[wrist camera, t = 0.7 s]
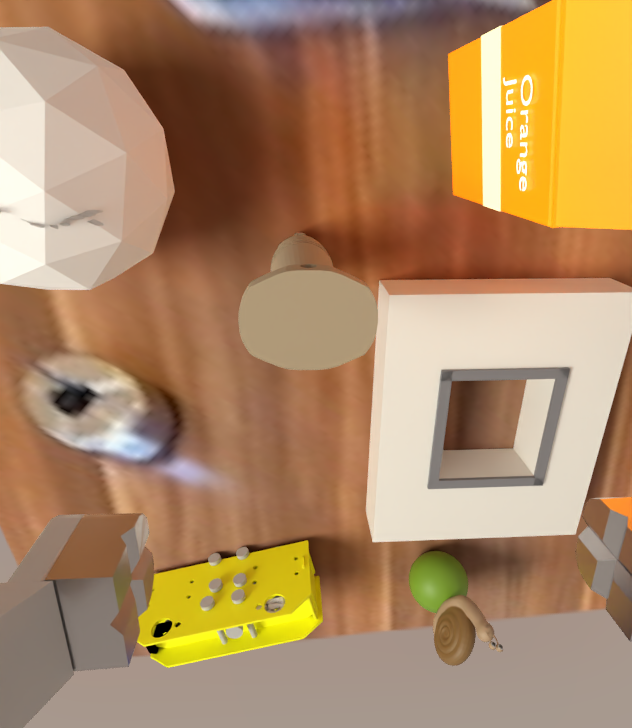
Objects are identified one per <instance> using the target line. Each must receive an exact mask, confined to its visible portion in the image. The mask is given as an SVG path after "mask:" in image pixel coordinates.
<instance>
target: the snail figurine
mask: <svg viewBox="0 0 632 728" xmlns="http://www.w3.org/2000/svg"><path fill="white" fill-rule="evenodd" d="M409 585H410V589H411V592H412V594H413V596H414V598H415V600H416V601H417V602H418V603H419V604H420V605H421V606H422V607H423V608H425V609H426V610H428V611H431V612H433V613H436V615H435V617H434V621H433V633H434V643H435V648H436V651H437V654H438V655H439V657H440V658H441V660H442V661H443V662H445V663H446V664H448V665H452V666H454V665H459V664H461V663H463V662H464V661H465V660H466V659H467V658H468V657H469V656H470V654H471V652H472V649H473V647H474V643H475V635H476V634H475V628H476V632H477V636H478V638H479V639H480V640H481V641H483V642H489V641H490V643H489V648H490V649H492V650H494V649H496V650H497V651H498V652H502V651H503V647H502V645H501V644H498V642H497V645H496V644H495V643H494V642H492V641H491V640H492V639H493V637H494V638H495V639H496V637H495V636H494V630H493V628H492V626H491V625H490V624H489V623H488V622H487V621H486V619H485V617H484V615H483V614H482V612H481V611H480V609H479V608H478V607H477V605H476V604H475V603H474V602H473V601H472V600H471V599H469V598H468V597H466V595H467V591H468V579H467V575H466V572H465V570H464V568H463V566H462V565H461V564H460V562H459V561H458V560H457V559H456V558H454V557H453V556H451V555H450V554H448V553H445V552H441V551H430V552H427V553H424V554H422V555H421V556H420V557H418V558H417V559H416V560H415V562H414V563H413V565H412V567H411V570H410V573H409ZM496 641H497V639H496Z"/></svg>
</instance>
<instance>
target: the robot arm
mask: <svg viewBox="0 0 632 728" xmlns="http://www.w3.org/2000/svg"><path fill="white" fill-rule="evenodd" d="M582 517H583V519H584V520H585V522H586V524H587V525H588V527H587V528H586V529H585V530H584V531H583V532H582V533H581V534H580V535H579V536H578V539H577V545H576V551H575V552H576V558H577V564H578V568H579V570H580V573H581V575H582V577H583V579H584V580H585V582H586V583H587V585H588V586H589V587H590V589H591V590H593V591H594V592H596V593H598V594H599V595H601V596H603V597H604V598H606V599H607V600H606V610H607V612H608V613H609V614H610V616H611V617H612V618H613V620H614V621H615V622H616V624H617V625H618V626H619V628H620V629H621V630H622V632H623V633H624V634H625V636H626V637H627V638H628V640H629V641H632V497H611V498H590V500H589V501H588V502H587V504H586V505H585V508H584V512H583V516H582ZM148 535H149V527H148V522H147V517H146V516H145V515H144V514H143V513H141V514H87V515H84V514H79V515H58V516H56V517H54V518H52V519H51V520H50V522H49V523H48V524H47V526H46V527H45V529H44V530H43V532H42V533H41V535H40V536H39V537H38V539H37V540H36V542H35V543H34V545H33V546H32V548H31V549H30V550H29V552H28V553H27V555H26V556H25V558H24V559H23V561H22V562H21V563H20V565H19V566H18V568H17V569H16V571H15V572H14V573H13V575H12V577H11V578H10V579H9V581H8V582H7V583H0V728H23V727H24V726H25V725H26V724H27V723H28V722H29V721H30V720H31V719H32V718H33V716H35V715H36V714H37V713H38V711H39V710H40V709H41V708H42V707H43V706H44V705H45V704H46V703H47V702H48V701H49V700H50V699H51V698H52V697H53V696H54V695H55V693H57V692H58V691H59V690H60V689H61V688H62V686H63V685H64V684H65V683H66V682H67V681H68V680H69V679H70V678H71V677H72V676H73V675H74V672H73V671H83V670H95V669H107V668H120V667H129V664H130V661H131V658H132V655H133V652H134V649H135V646H136V643H137V640H138V637H139V634H140V626H139V620H138V617H139V616H140V615H141V614H142V613H144V612H145V611H146V610H147V609H148V605H149V602H150V599H151V595H152V588H153V581H154V562H153V555H152V552H150V551H149V550H148V549H147V548H146V547H145V544H146V541H147V538H148Z"/></svg>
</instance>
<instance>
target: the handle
mask: <svg viewBox="0 0 632 728" xmlns="http://www.w3.org/2000/svg"><path fill="white" fill-rule="evenodd" d="M238 323H239V330H240V335H241V338H242V341H243V343H244V345H245V347H246V349H247V350H248V351H249V353H250V354H251V355H252V356H254V357H257V358H259V359H261V360H264V361H266V362H268V363H271V364H273V365H276V366H278V367H282V368H285V369H292V370H322V369H330V368H333V367H336V366H339V365H342V364H344V363H347V362H349V361H351V360H353V359H356V358H358V357H360V356H362V355H364V354H365V353H366V352H367V351H368V349H369V348H370V346H371V345H372V343H373V341H374V338H375V335H376V332H377V325H378V309H377V304H376V301H375V298H374V296H373V294H372V292H371V291H370V289H369V287H368V286H367V284H366V283H365V282H364V281H362V280H360V279H358V278H356V277H354V276H352V275H350V274H348V273H346V272H344V271H341V270H339V269H337V268H334V267H333V264H332V261H331V258H330V256H329V254H328V252H327V251H326V249H325V248H324V247H323V246H322V245H321V244H320V243H319V242H318V241H317V240H315V239H314V238H312V237H309V236H306V234H305V233H301V232H299V233H295V235H294V236H292V237H289V238H288V239H286V240H284V241H283V242H281V243H280V244H279V246H278V248H277V250H276V251H275V253H274V256H273V258H272V263H271V272H270V273H267V274H265V275H263V276H261V277H259V278H257V279H255V280H253V281H251V282H250V284H249V285H248V287H247V288H246V290H245V292H244V295H243V297H242V300H241V304H240V309H239V321H238Z"/></svg>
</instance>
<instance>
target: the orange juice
mask: <svg viewBox="0 0 632 728" xmlns="http://www.w3.org/2000/svg"><path fill="white" fill-rule="evenodd" d="M448 64H449V92H450V120H451V148H452V176H453V195H455V196H458V197H461V198H464V199H467V200H470V201H473V202H476V203H479V204H482V205H483V206H485V207H488V208H491V209H494V210H497V211H504V212H507V213H510V214H513V215H516V216H519V217H522V218H525V219H528V220H531V221H534V222H537V223H540V224H543V225H546V226H549V227H552V228H556V227H576V228H601V229H626V230H632V0H552V1H550V2H549V3H547V4H545V5H543V6H541V7H539V8H537V9H535V10H533V11H531V12H529V13H527V14H525V15H523V16H521V17H519V18H517V19H516V20H514V21H512V22H510V23H508V24H506V25H504V26H499V27H497V28H496V29H494V30H492V31H490V32H488V33H486V34H484V35H482V36H481V38H479V39H477V40H475V41H473V42H471V43H469V44H467V45H465V46H463V47H461V48H459V49H457V50H455V51H453V52H451V53H449V54H448Z"/></svg>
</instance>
